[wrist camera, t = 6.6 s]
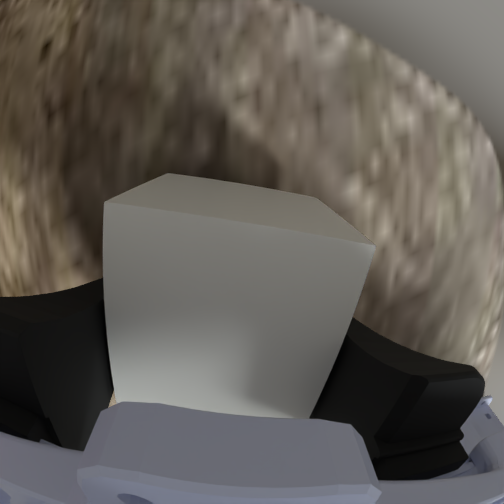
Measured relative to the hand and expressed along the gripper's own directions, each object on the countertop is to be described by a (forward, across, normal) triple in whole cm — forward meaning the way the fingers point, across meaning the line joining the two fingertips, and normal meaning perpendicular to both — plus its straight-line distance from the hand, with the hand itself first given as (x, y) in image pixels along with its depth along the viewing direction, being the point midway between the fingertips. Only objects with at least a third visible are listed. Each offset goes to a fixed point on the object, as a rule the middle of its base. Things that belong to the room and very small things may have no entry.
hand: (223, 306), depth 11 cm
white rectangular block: (+2, 0, 0) cm, 2 cm away
